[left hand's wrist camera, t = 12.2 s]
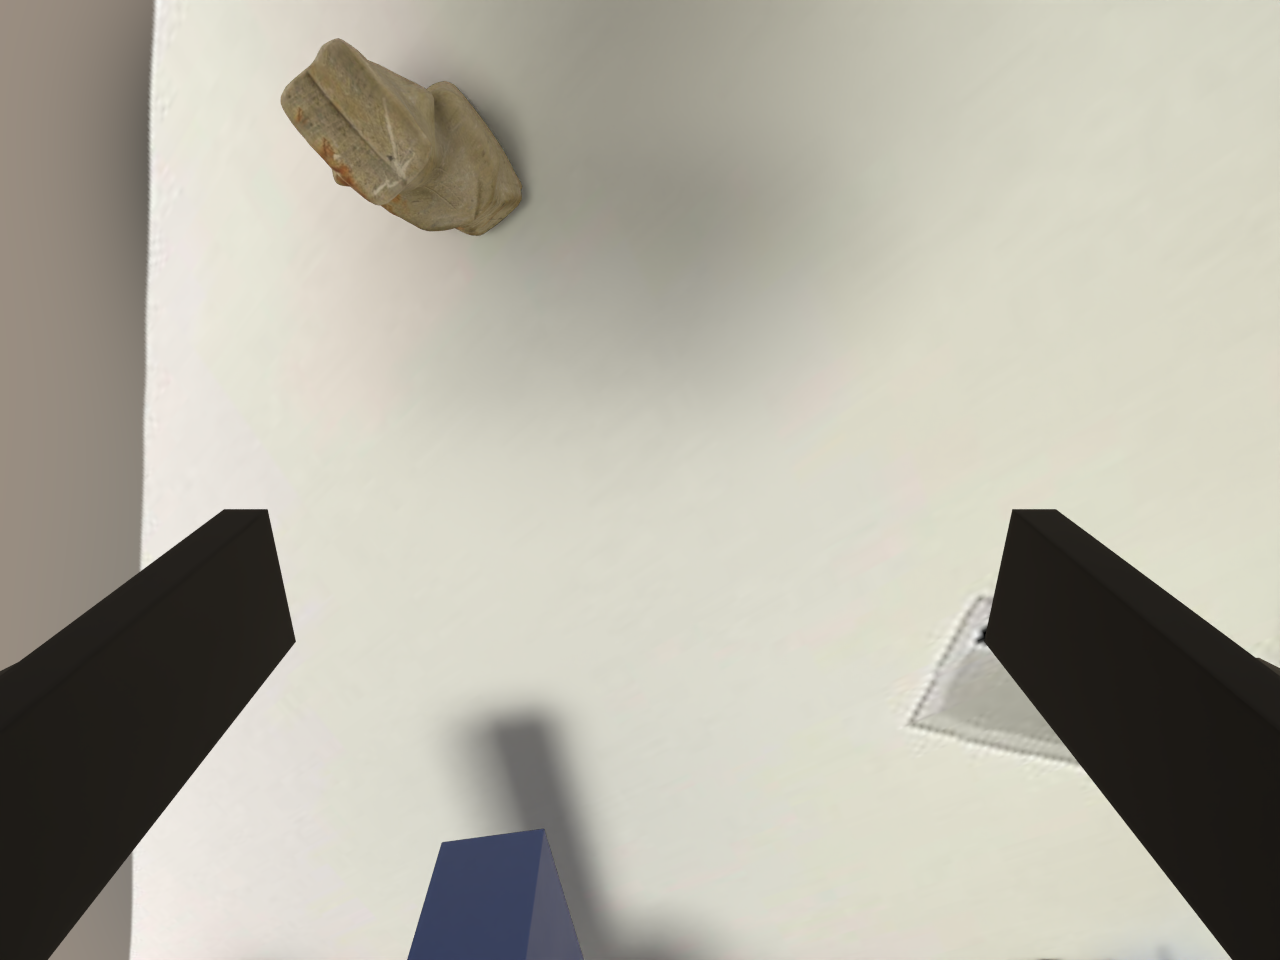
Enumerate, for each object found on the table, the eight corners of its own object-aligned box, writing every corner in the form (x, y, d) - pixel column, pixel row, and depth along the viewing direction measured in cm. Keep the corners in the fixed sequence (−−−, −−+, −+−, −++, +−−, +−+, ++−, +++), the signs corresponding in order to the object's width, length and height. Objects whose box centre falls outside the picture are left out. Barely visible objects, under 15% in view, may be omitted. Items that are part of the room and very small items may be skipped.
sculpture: (465, 66, 37) (360, -15, 23) (549, 189, 39) (499, 183, 25) (382, 137, 38) (234, 100, 24) (468, 251, 40) (377, 279, 26)
